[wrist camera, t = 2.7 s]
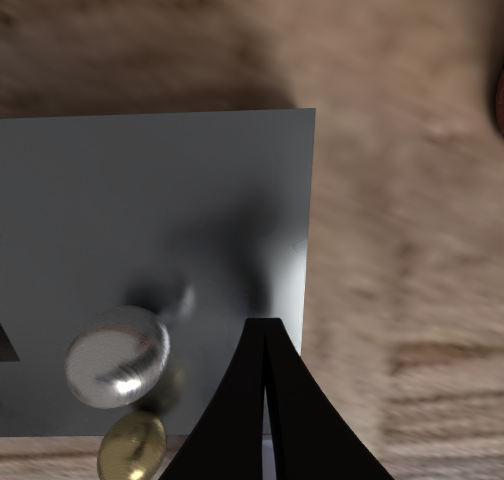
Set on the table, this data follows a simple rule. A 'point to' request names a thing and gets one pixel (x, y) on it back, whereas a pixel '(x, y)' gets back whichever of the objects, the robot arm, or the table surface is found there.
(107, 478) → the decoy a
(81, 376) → the steel ball
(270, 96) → the table surface
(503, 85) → the supplement bottle
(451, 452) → the table surface
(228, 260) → the plate
